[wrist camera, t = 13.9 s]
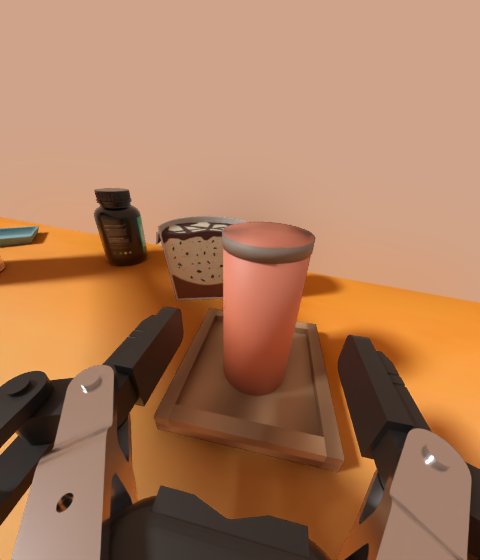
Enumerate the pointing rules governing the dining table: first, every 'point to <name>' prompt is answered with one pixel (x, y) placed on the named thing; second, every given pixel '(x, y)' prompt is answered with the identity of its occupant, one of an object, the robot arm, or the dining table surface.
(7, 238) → the shallow long dish
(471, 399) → the dining table surface
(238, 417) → the tray
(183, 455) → the dining table surface
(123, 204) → the supplement bottle
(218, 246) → the food container
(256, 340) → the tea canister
